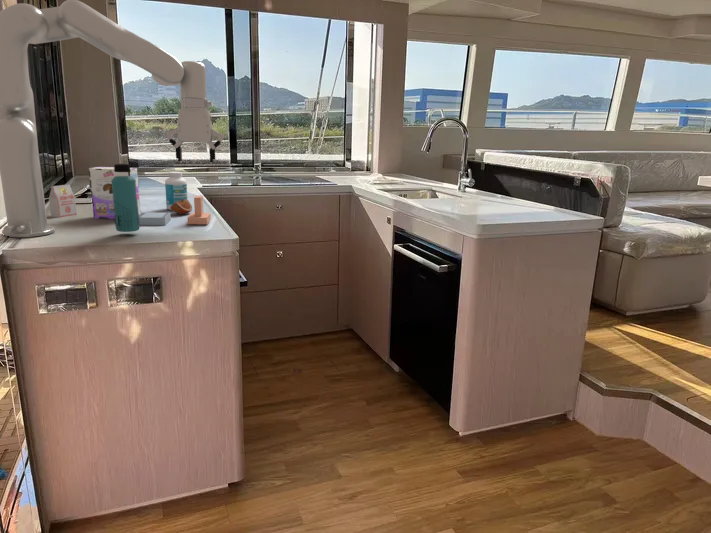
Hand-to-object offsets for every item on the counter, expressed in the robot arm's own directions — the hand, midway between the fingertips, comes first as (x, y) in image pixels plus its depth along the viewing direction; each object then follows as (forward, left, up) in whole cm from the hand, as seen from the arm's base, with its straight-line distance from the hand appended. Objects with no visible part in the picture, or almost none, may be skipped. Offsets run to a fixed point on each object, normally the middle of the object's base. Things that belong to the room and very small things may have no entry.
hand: (195, 161), depth 168 cm
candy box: (+8, +27, -20) cm, 34 cm away
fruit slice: (+16, +8, -20) cm, 27 cm away
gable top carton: (+12, +45, -20) cm, 51 cm away
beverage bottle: (-19, +17, -20) cm, 32 cm away
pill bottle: (+26, +11, -20) cm, 35 cm away
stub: (0, 0, -19) cm, 19 cm away
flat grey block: (0, +15, -19) cm, 25 cm away
